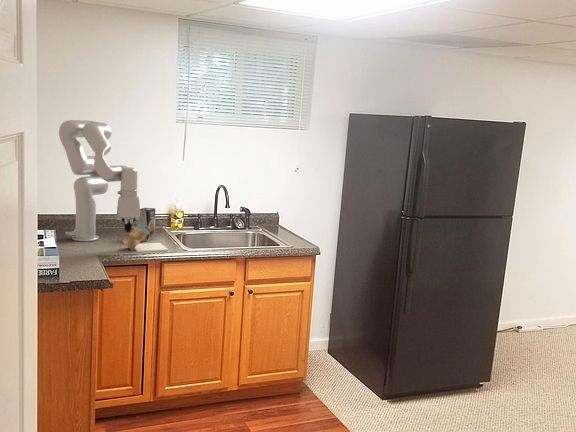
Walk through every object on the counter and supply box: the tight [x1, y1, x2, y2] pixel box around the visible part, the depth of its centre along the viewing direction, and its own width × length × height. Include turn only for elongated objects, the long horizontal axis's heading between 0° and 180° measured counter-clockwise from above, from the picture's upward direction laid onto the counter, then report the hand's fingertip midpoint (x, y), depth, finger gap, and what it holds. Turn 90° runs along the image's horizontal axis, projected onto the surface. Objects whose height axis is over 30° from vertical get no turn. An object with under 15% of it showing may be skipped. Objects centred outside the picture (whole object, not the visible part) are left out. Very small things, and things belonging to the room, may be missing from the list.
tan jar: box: [122, 224, 150, 251], centre depth 284 cm, size 5×5×12 cm
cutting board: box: [133, 242, 169, 253], centre depth 288 cm, size 15×14×1 cm
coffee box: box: [136, 207, 156, 242], centre depth 305 cm, size 9×6×16 cm
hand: (127, 231), depth 281 cm, fingers closed
